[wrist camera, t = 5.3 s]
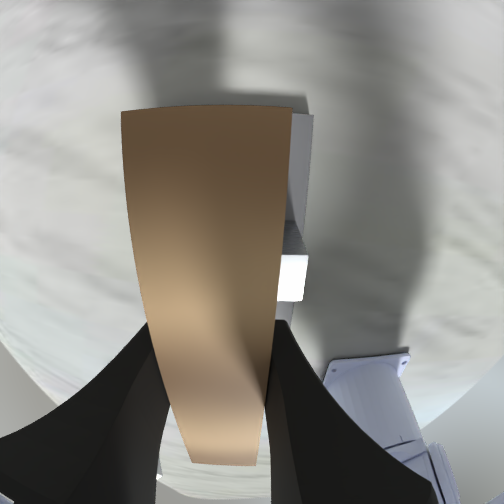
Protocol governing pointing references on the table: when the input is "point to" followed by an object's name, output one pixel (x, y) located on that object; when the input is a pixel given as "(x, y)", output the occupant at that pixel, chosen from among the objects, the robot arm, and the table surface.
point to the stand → (295, 218)
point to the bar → (210, 261)
